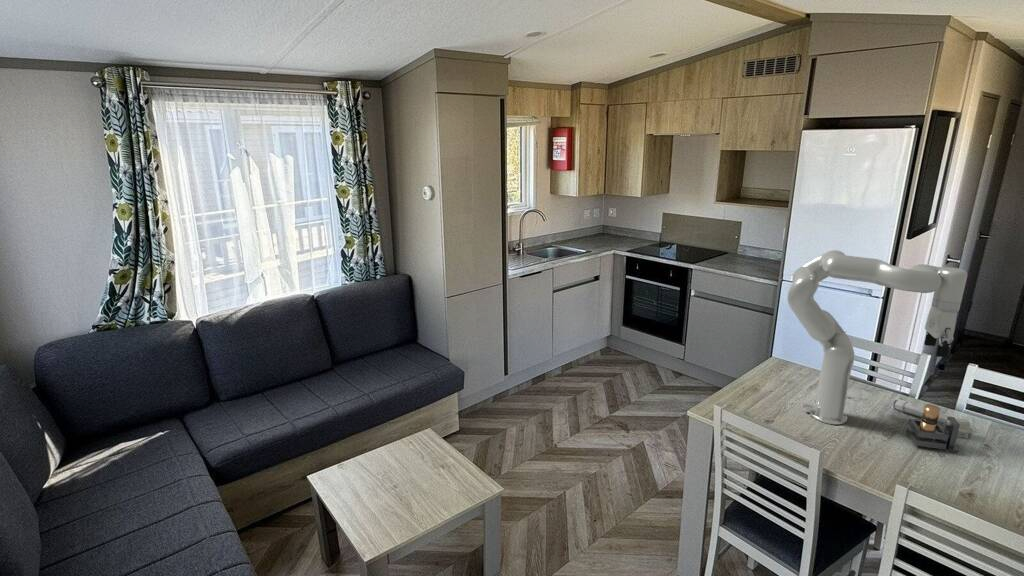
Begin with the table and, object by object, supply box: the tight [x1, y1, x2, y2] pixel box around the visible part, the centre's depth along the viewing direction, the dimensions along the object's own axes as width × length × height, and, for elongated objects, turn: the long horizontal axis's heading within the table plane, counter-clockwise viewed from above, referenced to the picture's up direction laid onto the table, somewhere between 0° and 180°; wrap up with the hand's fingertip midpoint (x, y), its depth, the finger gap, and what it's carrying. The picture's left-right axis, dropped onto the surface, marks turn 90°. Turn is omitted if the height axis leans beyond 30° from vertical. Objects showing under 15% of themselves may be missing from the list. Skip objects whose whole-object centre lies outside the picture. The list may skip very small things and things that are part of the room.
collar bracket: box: [905, 416, 960, 454], centre depth 188 cm, size 9×13×10 cm
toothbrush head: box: [892, 399, 974, 439], centre depth 201 cm, size 5×7×25 cm
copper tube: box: [918, 403, 941, 441], centre depth 188 cm, size 4×4×14 cm
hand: (935, 350), depth 187 cm, fingers open, 9 cm apart
